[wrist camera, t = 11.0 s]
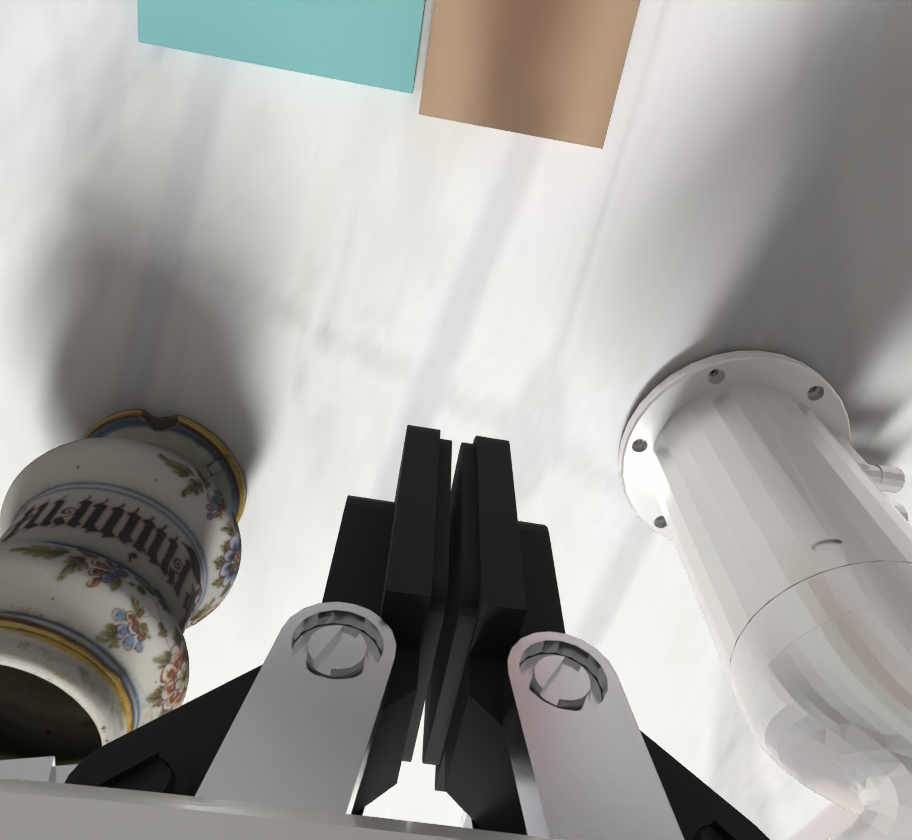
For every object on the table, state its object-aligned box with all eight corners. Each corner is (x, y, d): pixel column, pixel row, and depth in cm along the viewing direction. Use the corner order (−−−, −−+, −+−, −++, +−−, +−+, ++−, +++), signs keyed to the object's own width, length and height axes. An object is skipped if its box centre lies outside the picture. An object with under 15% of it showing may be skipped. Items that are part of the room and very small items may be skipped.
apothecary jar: (258, 397, 42) (135, 634, 26) (269, 567, 48) (175, 846, 32) (37, 383, 42) (-223, 615, 26) (75, 557, 47) (-118, 833, 32)
